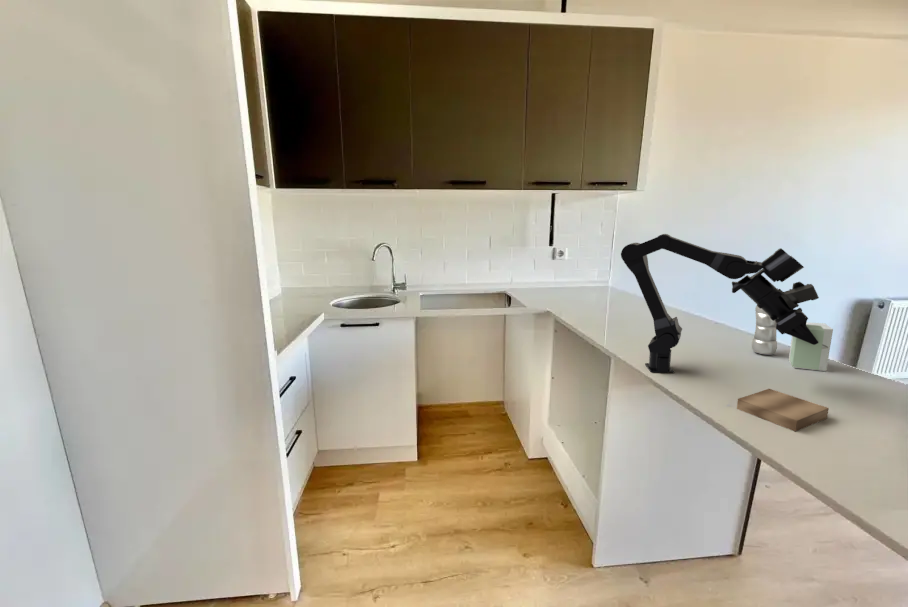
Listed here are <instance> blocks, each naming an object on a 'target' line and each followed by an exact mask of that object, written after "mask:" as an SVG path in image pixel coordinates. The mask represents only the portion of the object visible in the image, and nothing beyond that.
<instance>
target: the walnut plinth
mask: <svg viewBox="0 0 908 607" xmlns="http://www.w3.org/2000/svg"><path fill="white" fill-rule="evenodd" d="M736 409H737V410H739V411H742V412H744V413H747V414H749V415H752V416H754V417H757V418H760V419H763V420H764V421H767V422H770V423H772V424H776V425H777V426H780V427H783V428H785V429H788V430H791V431H793V432H797V431H801V430H803V429H805V428H807V427H810V426H812V425H815V424H817V423H820V422H821V421H825V420H827V419H828V417H829V407H827V406H824V405H822V404H818V403H814V402H812V401H809V400H805V399H802V398H799V397H796V396H793V395H790V394H787V393H785V392H784V393H783V392H781V391H778V390H774V389H771V388H767V389H764V390H761V391H757V392H754V393H751V394H748V395H746V396H743V397H738V398H737V405H736Z"/></svg>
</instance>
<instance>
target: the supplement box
mask: <svg viewBox="0 0 908 607" xmlns="http://www.w3.org/2000/svg"><path fill="white" fill-rule="evenodd" d="M806 325H818V326H821V327H822V328H823V329H824V337H823V344H822V350H821V357H820V364H819V370H818V371H821V372H827V369H828V365H829V364H828V363H829V357H830V352H831V351H830V349H831V344H832V338H833V331H834V328H832V327H831V326H830V325H828V324H827V323H823V322H822V323H821V322H806ZM792 342H793V336H791V340H790V347H789V348H790V349H789V354H788V362H789V363H790V364H791V362H790V356H791V349H792ZM793 368H794V369H800V370H801V369H804V370H808V369H807V368H799V367H793ZM810 370H813V371H816V370H815V369H810Z"/></svg>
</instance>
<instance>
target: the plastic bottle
mask: <svg viewBox="0 0 908 607" xmlns="http://www.w3.org/2000/svg"><path fill="white" fill-rule="evenodd" d="M754 311H755V331H754V334H753V339H752V341H751V349H752V351H753V352H754V353H757V354H760V355H768V356H769V355H770V356H771V355H774V354H776V352H777V350H778V341H777V331H778V330H777V329H776V328H775V320H774V321H773V320H772V319H771V318H770V316H769V315H768V314H767V313H766V312H765V311H764V310H762V309H760V308H759V307H758V306H757V305H756V306H755V310H754Z"/></svg>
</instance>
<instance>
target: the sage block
mask: <svg viewBox="0 0 908 607" xmlns="http://www.w3.org/2000/svg"><path fill="white" fill-rule="evenodd" d="M806 326H807V327H808V328H809V330H810V331H811V333H812V334H813V335H814V337H815V338H816V339H817V341H818V343H817V344H815V345H813V344H811V343H808V342H806V341H803V340H801V339H798V338H796V337H793V342H792V349H791V356H790V362H791V363H790V362H789V363H790V364H791V367H793V368H794V367H799V368H798V369H801V368H807V369H806V370H811V369H815V370H814V371H819V364H820V357H821V350H822V344H823V337H824V329H823V328H822V327H821V326H818V325H806Z"/></svg>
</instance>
